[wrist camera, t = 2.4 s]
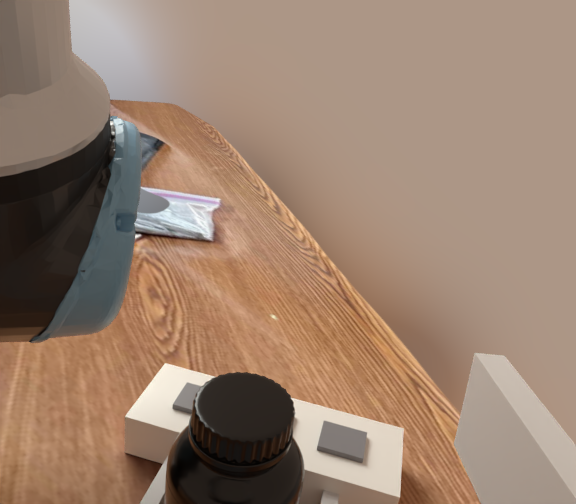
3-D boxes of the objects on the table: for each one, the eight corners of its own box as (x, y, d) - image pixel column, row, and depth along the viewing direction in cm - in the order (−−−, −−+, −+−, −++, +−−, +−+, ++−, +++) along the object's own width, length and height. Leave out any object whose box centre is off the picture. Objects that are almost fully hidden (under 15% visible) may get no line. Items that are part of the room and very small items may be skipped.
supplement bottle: (306, 596, 29) (347, 432, 24) (189, 664, 25) (208, 488, 20) (246, 499, 34) (270, 346, 29) (142, 544, 30) (147, 378, 25)
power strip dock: (25, 595, 27) (19, 549, 25) (163, 396, 41) (165, 358, 40) (374, 722, 24) (392, 679, 23) (393, 461, 38) (404, 424, 37)
